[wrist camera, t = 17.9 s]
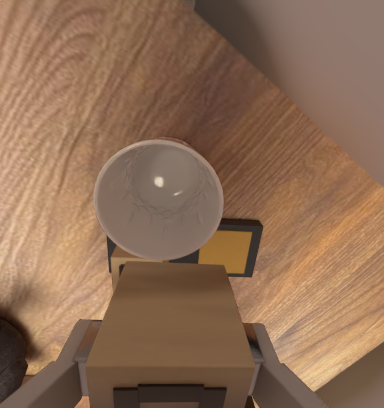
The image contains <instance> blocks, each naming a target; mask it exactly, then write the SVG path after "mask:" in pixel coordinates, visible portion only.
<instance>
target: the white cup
mask: <svg viewBox="0 0 384 408" xmlns="http://www.w3.org/2000/svg"><path fill="white" fill-rule="evenodd" d="M223 208H224V196H223V190H222V186H221V183H220V180H219V178H218V176H217V174H216V172H215V171H214V169H213V168H212V166H211V165H210V164H209V163H208V162H207V161H206V160H205V159H204V158H203V157H202V156H201V155H200V154H199V153H198V152H197V151H196V150H195V149H194V148H193V147H192V146H190V145H189V144H187V143H186V142H184V141H182V140H179V139H176V138H171V137H157V138H152V139H148V140H144V141H141V142H137V143H134V144H131V145H129V146H127V147H125V148H123V149H121V150H120V151H118V152H117V153H116V154H114V155H113V156H112V157H111V158H110V159H109V160H108V161H107V162H106V164H105V165H104V166H103V168H102V169H101V171H100V173H99V175H98V177H97V180H96V183H95V188H94V209H95V213H96V216H97V219H98V221H99V223H100V225H101V227H102V229H103V230H104V232H105V233H106V235H107V236H108V237H109V238H110V239H111V240H112V241H113V242H114V243H115V244H116V245H117V246H119V247H120V248H122V249H123V250H125V251H126V252H128V253H130V254H132V255H135V256H138V257H141V258H144V259H149V260H173V259H177V258H181V257H184V256H187V255H189V254H191V253H193V252H195V251H196V250H198V249H199V248H201V247H202V246H203V245H204V244H206V243H207V242H208V241H209V240H210V238H211V237H212V236H213V235H214V233H215V232H216V230H217V228H218V226H219V224H220V221H221V218H222V214H223Z"/></svg>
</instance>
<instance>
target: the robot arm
mask: <svg viewBox="0 0 384 408" xmlns="http://www.w3.org/2000/svg"><path fill="white" fill-rule="evenodd" d="M102 321H103V320H86V319H80V320H79V321H78V322H77V323H76V324H75V326H74V328H73V330H72V332H71V334H70V336H69V338H68V340H67V341H66V343H65V345H64V347H63V349H62V351H61V353H60V355H59V357H58V359H57V360H56V361H52V362H50V363H49V364H48V365H47V366H46V367H44V368H43V369H42V370H41V371H40V372H38V373H37V374H36V375H35V376H33V377H32V378H31V379H30V380H29V381H27V382H26V383H25V384H24V385H23V386H21V387H20V388H19V389H18V390H16V391H15V392H14V393H13V394H12V395H10V396H9V397H8V398H7V399H6V400H4V401H3V402H2V403H1V404H0V408H74V407H75V406H76V405H77V403H78V402H79V401H80V400H81V398H82V396H89V394H88V386H87V378H86V370H85V364H86V361H87V359H88V356H89V354H90V351H91V349H92V346H93V344H94V341H95V339H96V336H97V334H98V331H99V328H100V326H101V323H102ZM242 324H243V327H244V330H245V333H246V337H247V340H248V343H249V346H250V349H251V353H252V356H253V359H254V362H255V366H256V367H255V371H254V375H253V378H252V382H251V386H250V389H249V393H248V396H252V397H253V399H254V400H255V402H256V403H257V405H258V406H259V407H260V408H329V407H328V406H327V405H326V404H325V403H324V402H323V401H322V400H321V399H320V398H319V397H318V396H317V395H316V394H315V393H314V392H313V391H312V390H311V389H310V388H309V387H308V386H307V385H306V384H305V383H303V382H302V381H301V380H300V379H299V378H298V377H297V376H296V375H295V374H294V373H293V372H292V371H291V370H290V369H289V368H288V367H287V366H286V365H285V364H284V363H280V362H279V360H278V357H277V355H276V352H275V350H274V348H273V345H272V343H271V341H270V338H269V336H268V333H267V331H266V329H265V326H264V325H263V324H259V323H242Z"/></svg>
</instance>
